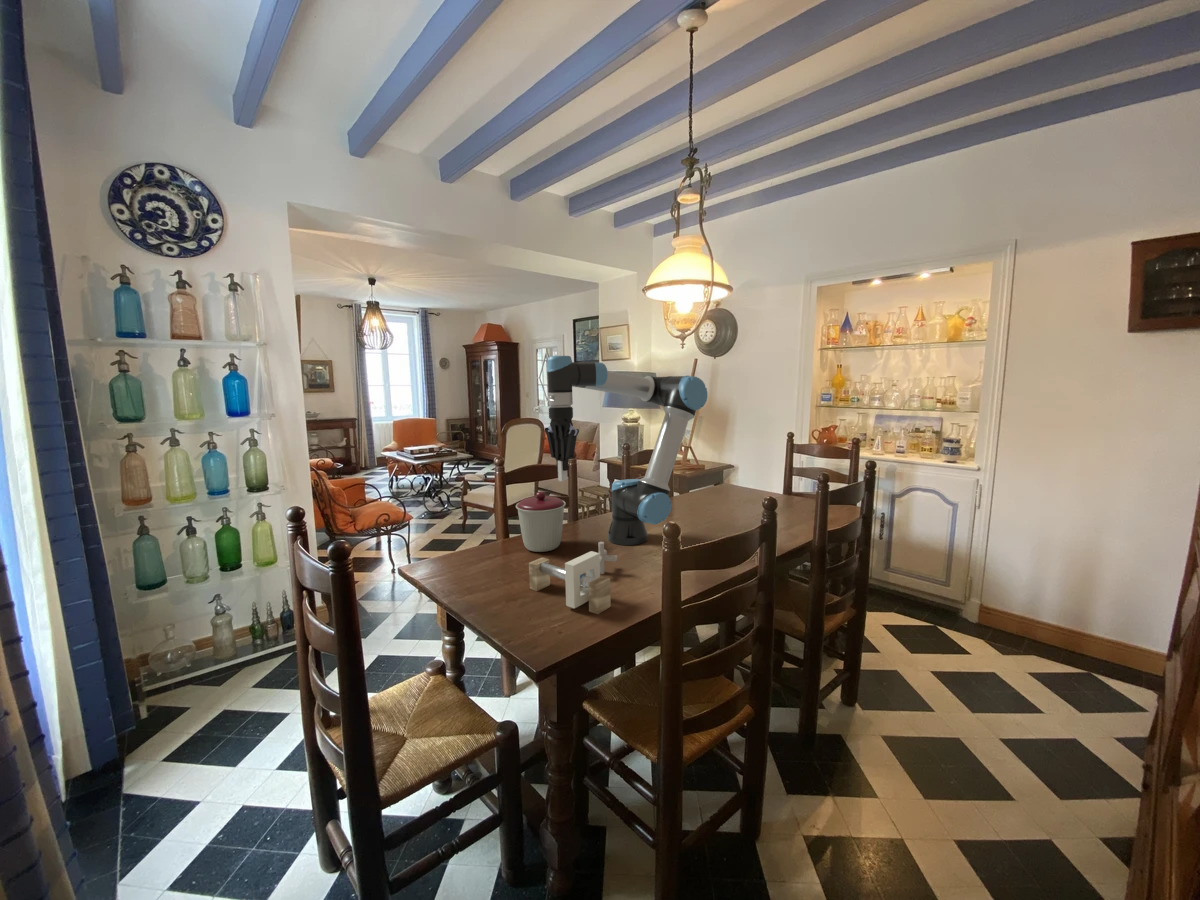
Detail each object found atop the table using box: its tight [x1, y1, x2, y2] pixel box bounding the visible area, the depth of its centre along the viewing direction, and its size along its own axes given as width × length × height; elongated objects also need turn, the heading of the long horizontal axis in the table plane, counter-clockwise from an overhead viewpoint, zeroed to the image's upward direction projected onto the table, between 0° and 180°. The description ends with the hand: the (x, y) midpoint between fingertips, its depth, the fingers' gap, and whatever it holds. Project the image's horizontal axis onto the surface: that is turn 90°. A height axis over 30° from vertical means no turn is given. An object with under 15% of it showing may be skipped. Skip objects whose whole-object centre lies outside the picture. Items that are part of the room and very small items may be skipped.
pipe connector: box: [597, 541, 618, 575], centre depth 151 cm, size 10×10×10 cm
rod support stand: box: [528, 557, 612, 615], centre depth 135 cm, size 26×6×8 cm, turn 51°
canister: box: [515, 491, 567, 553], centre depth 174 cm, size 18×18×21 cm
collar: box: [564, 550, 601, 609], centre depth 131 cm, size 3×11×12 cm, turn 141°
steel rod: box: [539, 562, 595, 589], centre depth 134 cm, size 25×3×3 cm, turn 51°
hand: (562, 480), depth 152 cm, fingers closed
